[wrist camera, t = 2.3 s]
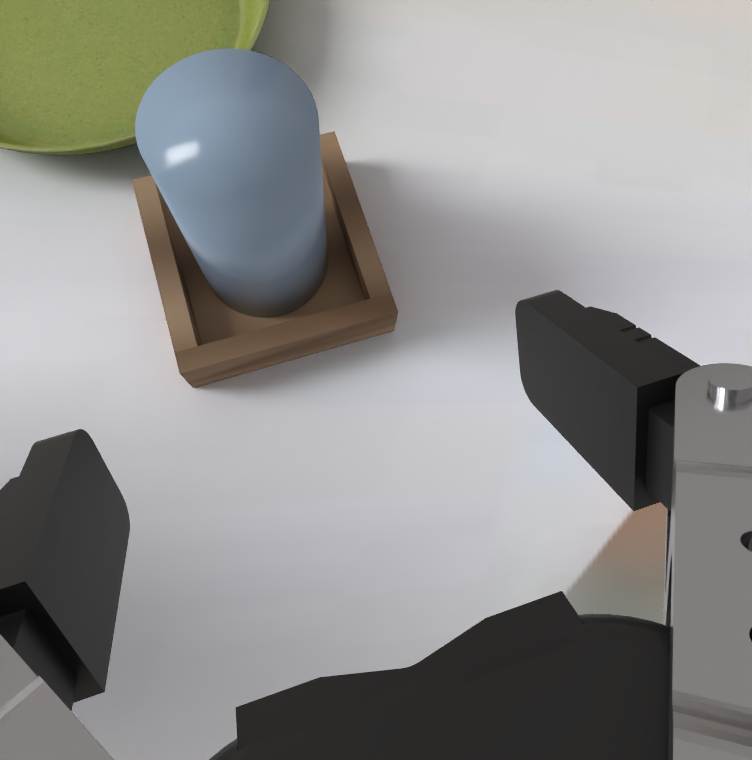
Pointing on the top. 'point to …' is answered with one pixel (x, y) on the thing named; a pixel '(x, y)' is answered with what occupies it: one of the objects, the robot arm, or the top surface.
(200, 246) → the pale blue smooth-sided part
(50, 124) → the saucer
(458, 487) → the top surface
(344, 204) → the holder
